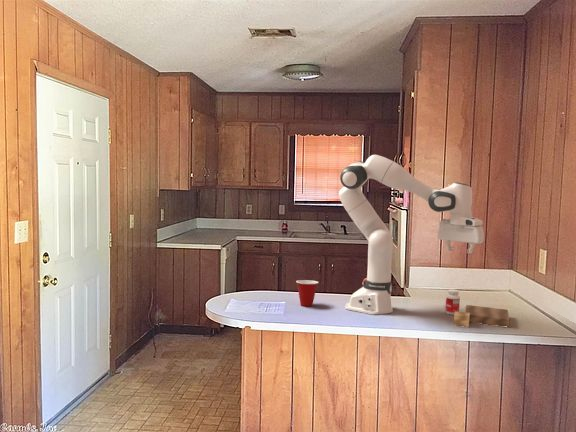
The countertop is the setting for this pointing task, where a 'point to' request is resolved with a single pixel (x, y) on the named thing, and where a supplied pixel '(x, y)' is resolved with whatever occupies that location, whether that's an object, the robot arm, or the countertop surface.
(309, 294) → the plastic cup
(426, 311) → the countertop surface
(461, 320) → the oak block
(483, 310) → the walnut block
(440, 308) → the countertop surface
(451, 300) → the pill bottle
